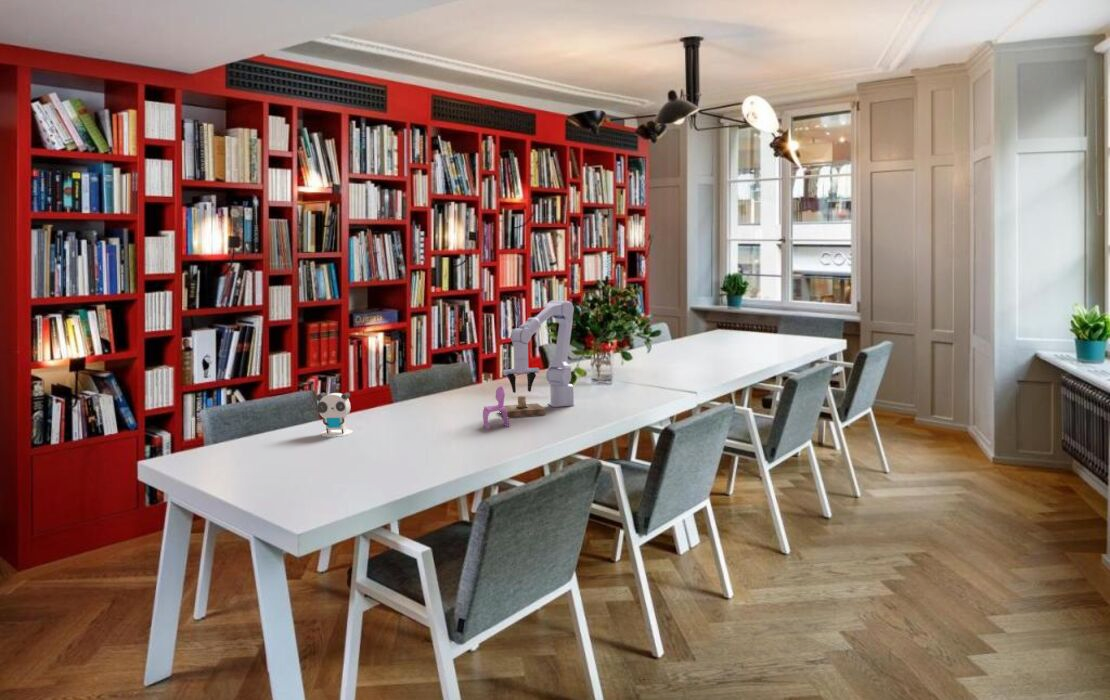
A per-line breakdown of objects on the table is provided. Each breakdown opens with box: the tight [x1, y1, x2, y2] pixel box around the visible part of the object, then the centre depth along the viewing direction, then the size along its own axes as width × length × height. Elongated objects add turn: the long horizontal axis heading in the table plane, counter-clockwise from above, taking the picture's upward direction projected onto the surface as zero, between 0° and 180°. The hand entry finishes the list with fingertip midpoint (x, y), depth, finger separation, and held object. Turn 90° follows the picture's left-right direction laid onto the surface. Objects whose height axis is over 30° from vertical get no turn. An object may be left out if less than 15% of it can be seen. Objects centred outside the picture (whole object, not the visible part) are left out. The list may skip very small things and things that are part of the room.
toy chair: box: [482, 386, 511, 430], centre depth 305 cm, size 8×9×15 cm
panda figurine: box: [316, 392, 353, 438], centre depth 298 cm, size 12×11×15 cm
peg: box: [517, 395, 527, 409], centre depth 328 cm, size 3×3×7 cm
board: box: [498, 403, 546, 418], centre depth 328 cm, size 16×12×2 cm
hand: (521, 391), depth 327 cm, fingers open, 6 cm apart
